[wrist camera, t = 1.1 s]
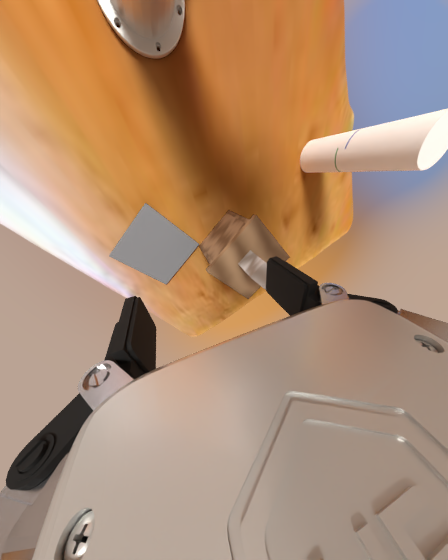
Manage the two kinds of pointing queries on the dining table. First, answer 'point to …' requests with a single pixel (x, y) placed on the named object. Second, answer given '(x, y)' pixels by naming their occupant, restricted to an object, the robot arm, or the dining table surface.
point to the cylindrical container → (381, 146)
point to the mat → (154, 245)
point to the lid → (247, 258)
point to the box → (222, 235)
